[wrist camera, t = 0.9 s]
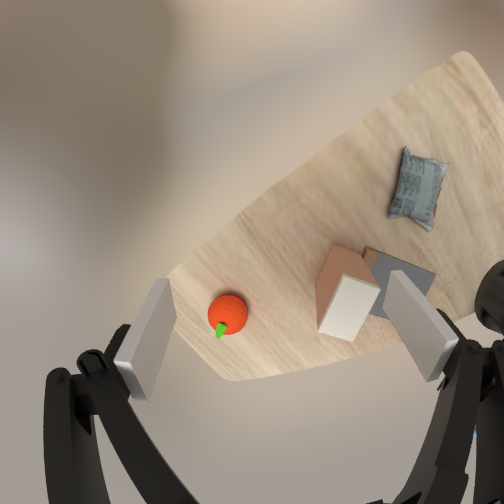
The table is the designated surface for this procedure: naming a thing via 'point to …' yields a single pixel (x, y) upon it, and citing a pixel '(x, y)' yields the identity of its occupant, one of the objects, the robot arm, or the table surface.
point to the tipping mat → (381, 272)
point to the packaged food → (418, 189)
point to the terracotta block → (344, 293)
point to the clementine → (227, 315)
